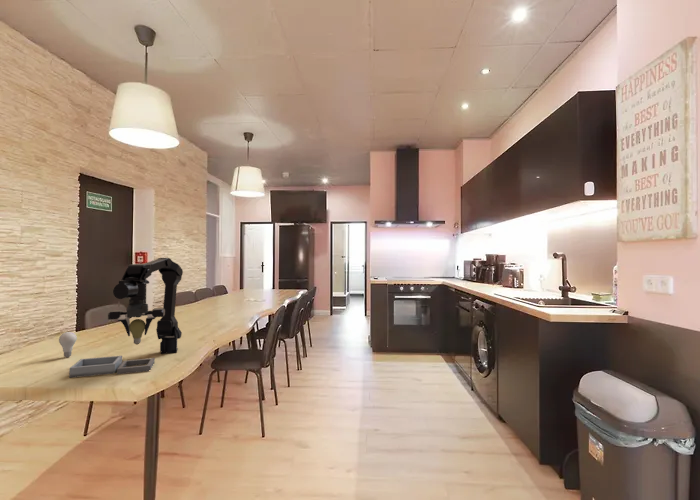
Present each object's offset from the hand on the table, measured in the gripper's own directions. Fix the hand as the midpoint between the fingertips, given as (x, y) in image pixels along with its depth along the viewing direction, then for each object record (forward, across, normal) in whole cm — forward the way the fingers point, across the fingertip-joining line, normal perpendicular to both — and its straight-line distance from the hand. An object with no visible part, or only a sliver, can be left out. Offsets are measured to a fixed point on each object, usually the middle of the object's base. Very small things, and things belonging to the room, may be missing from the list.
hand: (137, 335), depth 139 cm
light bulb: (+4, 0, 0) cm, 4 cm away
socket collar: (+13, 0, 0) cm, 13 cm away
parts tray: (+13, -14, +2) cm, 19 cm away
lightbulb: (+13, -30, +27) cm, 43 cm away
